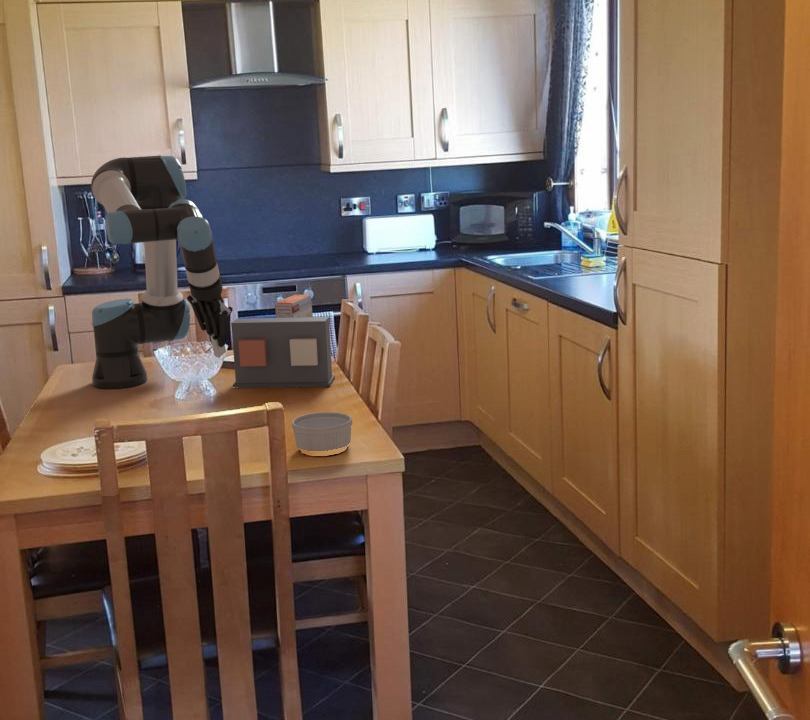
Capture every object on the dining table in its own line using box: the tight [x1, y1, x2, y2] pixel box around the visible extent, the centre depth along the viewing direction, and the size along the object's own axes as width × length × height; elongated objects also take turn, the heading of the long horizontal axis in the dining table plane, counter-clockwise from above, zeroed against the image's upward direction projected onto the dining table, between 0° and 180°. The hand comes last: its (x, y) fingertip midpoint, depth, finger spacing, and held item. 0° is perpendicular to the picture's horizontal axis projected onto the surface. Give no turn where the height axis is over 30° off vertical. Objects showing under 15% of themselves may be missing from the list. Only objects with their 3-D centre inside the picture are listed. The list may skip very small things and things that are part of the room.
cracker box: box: [274, 293, 313, 318], centre depth 295 cm, size 14×6×21 cm, turn 162°
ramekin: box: [291, 411, 353, 451], centre depth 220 cm, size 13×13×7 cm
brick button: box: [238, 339, 267, 366], centre depth 277 cm, size 10×7×7 cm, turn 175°
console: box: [230, 316, 336, 389], centre depth 278 cm, size 9×27×18 cm, turn 85°
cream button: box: [290, 338, 318, 366], centre depth 276 cm, size 10×7×7 cm, turn 175°
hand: (220, 353), depth 252 cm, fingers closed
